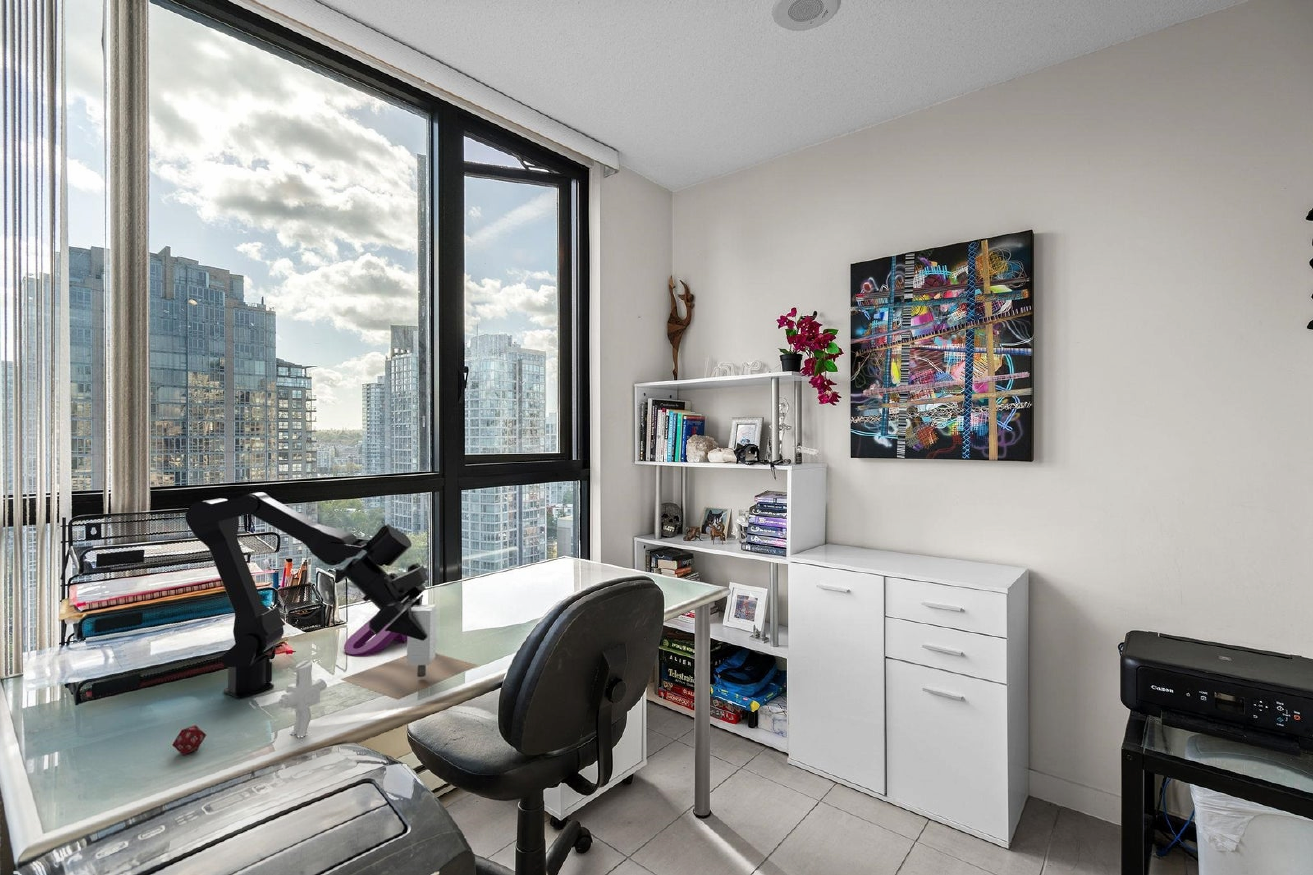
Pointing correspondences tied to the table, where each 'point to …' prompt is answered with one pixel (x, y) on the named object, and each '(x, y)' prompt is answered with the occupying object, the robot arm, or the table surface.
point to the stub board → (407, 675)
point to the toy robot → (302, 696)
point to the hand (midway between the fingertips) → (428, 635)
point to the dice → (189, 740)
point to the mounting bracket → (374, 645)
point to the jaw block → (426, 619)
